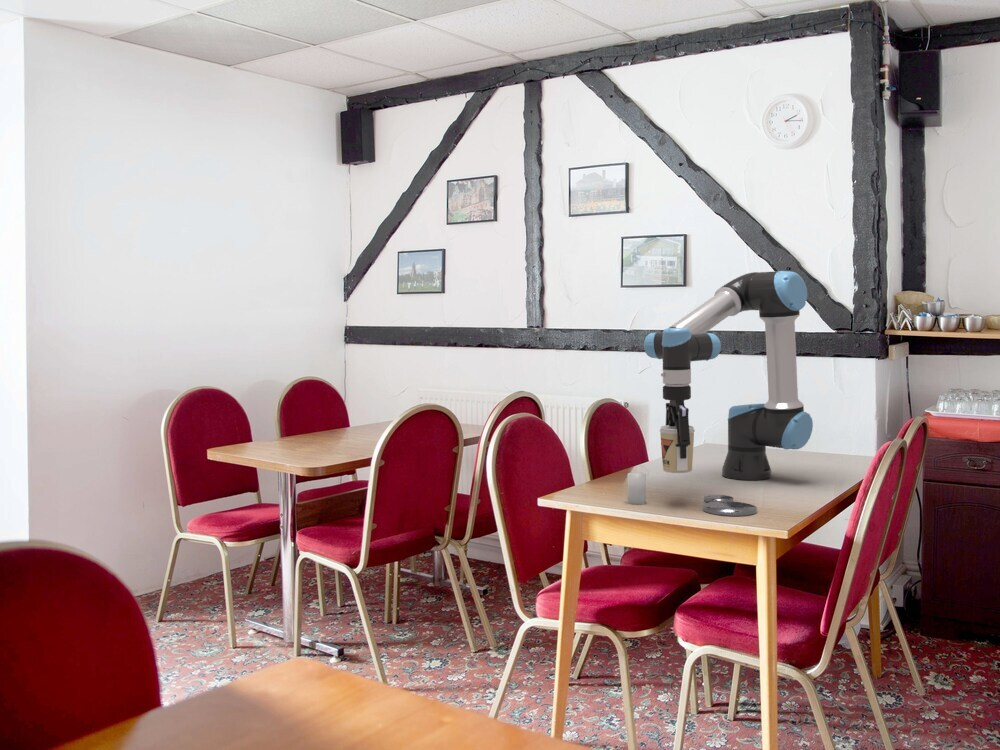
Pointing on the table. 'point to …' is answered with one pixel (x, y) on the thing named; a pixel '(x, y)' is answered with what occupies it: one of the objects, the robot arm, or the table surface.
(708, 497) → the flange small
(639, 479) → the grey cylinder
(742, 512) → the disc
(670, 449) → the coffee cup
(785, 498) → the table surface
